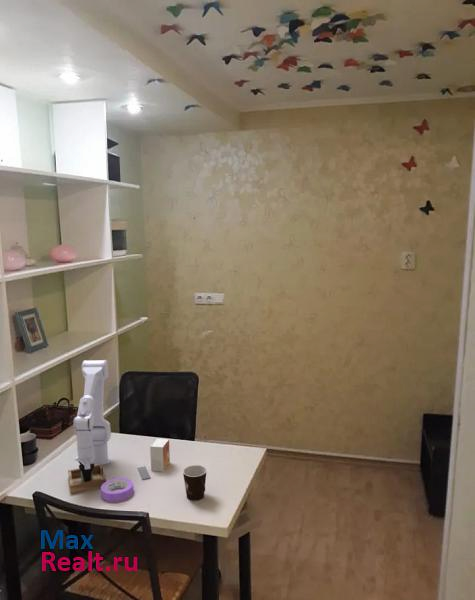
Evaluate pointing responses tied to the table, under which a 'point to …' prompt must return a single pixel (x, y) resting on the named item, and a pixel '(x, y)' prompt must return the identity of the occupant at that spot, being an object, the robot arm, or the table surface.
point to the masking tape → (116, 495)
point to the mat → (143, 473)
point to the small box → (160, 454)
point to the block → (83, 478)
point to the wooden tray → (80, 486)
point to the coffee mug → (195, 482)
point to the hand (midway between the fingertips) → (86, 478)
